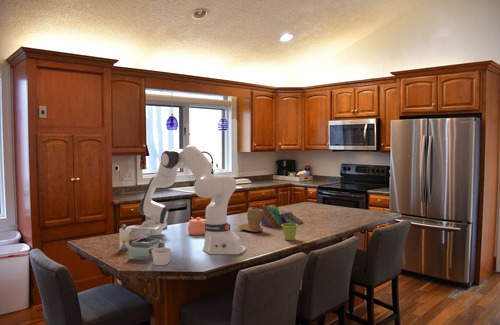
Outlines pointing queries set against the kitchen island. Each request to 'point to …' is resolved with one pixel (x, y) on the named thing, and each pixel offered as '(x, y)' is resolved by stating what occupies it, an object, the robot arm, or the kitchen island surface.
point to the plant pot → (289, 231)
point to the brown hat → (253, 220)
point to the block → (277, 217)
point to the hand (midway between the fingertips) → (136, 232)
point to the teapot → (196, 226)
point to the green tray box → (144, 248)
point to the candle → (161, 256)
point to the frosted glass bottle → (124, 238)
